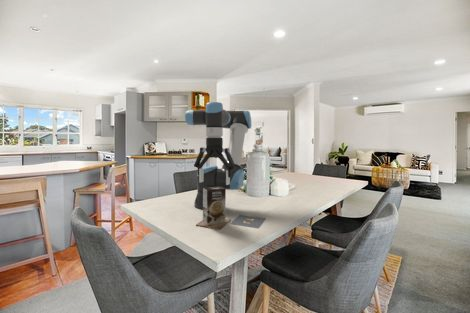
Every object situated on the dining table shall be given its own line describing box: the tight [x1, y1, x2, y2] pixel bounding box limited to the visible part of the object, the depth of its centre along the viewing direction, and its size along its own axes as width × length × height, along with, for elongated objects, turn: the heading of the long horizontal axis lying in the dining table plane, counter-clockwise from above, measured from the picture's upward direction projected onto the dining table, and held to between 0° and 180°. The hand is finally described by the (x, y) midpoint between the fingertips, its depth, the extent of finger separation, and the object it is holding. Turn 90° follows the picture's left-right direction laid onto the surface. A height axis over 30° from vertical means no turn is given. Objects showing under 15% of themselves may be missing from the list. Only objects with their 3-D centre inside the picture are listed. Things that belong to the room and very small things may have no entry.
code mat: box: [229, 214, 267, 229], centre depth 112 cm, size 14×14×1 cm
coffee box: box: [202, 186, 227, 225], centre depth 108 cm, size 9×6×16 cm
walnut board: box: [195, 218, 232, 231], centre depth 109 cm, size 12×12×1 cm
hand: (214, 183), depth 108 cm, fingers open, 13 cm apart
